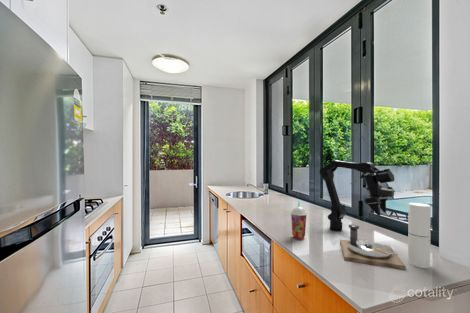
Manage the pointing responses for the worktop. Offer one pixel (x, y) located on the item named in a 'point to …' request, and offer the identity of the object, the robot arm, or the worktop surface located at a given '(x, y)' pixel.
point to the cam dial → (366, 246)
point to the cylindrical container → (419, 234)
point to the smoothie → (298, 222)
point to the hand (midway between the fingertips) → (382, 213)
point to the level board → (387, 262)
